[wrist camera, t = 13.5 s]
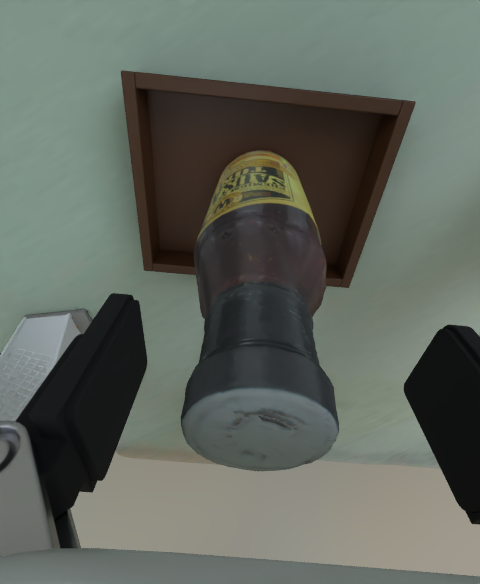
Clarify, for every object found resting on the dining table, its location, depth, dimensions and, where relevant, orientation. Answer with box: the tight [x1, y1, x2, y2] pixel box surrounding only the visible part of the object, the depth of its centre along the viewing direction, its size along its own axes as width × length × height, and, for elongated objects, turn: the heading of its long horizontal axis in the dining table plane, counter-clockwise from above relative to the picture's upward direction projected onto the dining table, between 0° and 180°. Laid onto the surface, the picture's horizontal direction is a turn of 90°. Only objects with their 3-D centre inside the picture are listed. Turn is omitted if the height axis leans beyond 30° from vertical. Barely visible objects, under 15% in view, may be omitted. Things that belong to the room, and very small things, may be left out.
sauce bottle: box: [181, 150, 339, 471], centre depth 15 cm, size 7×6×20 cm
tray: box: [121, 71, 416, 288], centre depth 23 cm, size 18×14×3 cm
